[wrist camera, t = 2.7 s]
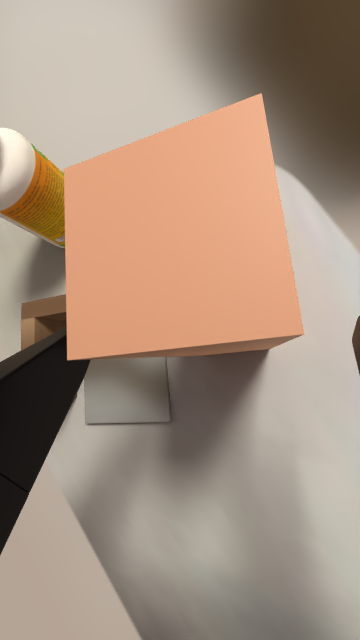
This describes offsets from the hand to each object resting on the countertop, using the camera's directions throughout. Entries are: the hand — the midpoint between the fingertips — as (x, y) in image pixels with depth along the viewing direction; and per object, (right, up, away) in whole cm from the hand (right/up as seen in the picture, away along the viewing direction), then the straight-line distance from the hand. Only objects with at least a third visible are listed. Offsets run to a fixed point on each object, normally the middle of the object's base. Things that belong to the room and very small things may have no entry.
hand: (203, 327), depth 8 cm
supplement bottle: (-11, +9, +14) cm, 20 cm away
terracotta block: (+3, 0, +9) cm, 9 cm away
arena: (-6, -3, +11) cm, 13 cm away
